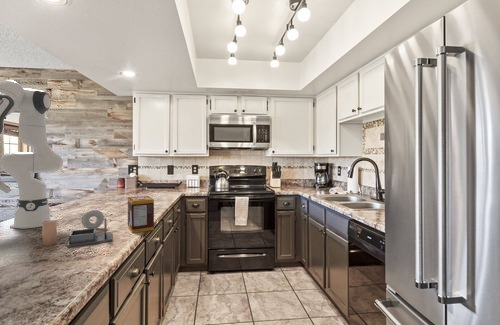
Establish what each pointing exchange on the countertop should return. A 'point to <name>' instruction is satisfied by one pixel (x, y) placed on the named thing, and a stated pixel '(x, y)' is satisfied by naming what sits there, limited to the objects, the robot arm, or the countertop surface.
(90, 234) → the grey tape dispenser
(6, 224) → the countertop surface
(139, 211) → the supplement box
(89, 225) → the grey ring
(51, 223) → the wooden block
